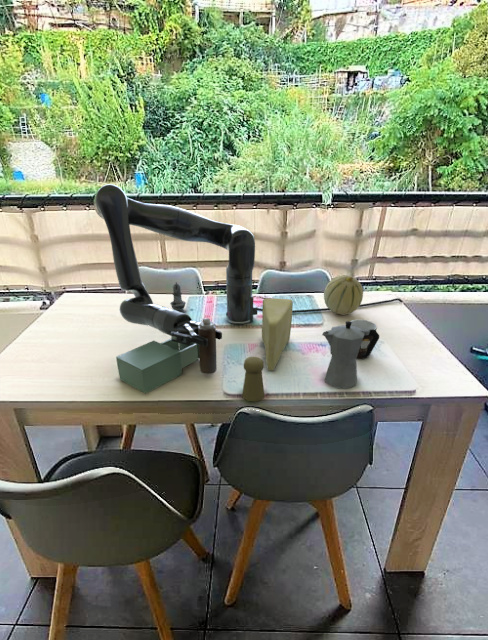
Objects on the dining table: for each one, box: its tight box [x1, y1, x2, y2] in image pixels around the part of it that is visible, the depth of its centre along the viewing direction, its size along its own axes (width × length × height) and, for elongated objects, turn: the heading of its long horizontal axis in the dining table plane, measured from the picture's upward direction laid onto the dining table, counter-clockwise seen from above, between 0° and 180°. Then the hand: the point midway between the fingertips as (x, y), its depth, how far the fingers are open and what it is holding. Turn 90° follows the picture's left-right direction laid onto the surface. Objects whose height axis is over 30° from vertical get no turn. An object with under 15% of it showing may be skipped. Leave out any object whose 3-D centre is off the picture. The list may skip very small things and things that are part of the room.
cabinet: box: [115, 340, 183, 394], centre depth 118 cm, size 13×11×7 cm
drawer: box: [160, 338, 199, 369], centre depth 126 cm, size 17×10×6 cm, turn 140°
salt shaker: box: [169, 281, 186, 314], centre depth 159 cm, size 6×6×12 cm
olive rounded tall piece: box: [241, 356, 265, 403], centre depth 109 cm, size 6×6×11 cm
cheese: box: [261, 297, 294, 371], centre depth 128 cm, size 22×10×15 cm, turn 172°
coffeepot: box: [321, 320, 380, 389], centre depth 114 cm, size 15×9×18 cm, turn 92°
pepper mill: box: [198, 318, 218, 375], centre depth 116 cm, size 5×5×16 cm
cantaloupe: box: [323, 274, 364, 316], centre depth 158 cm, size 15×15×15 cm
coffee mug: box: [350, 319, 378, 360], centre depth 130 cm, size 12×9×10 cm
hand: (214, 339), depth 113 cm, fingers closed on pepper mill, 5 cm apart
